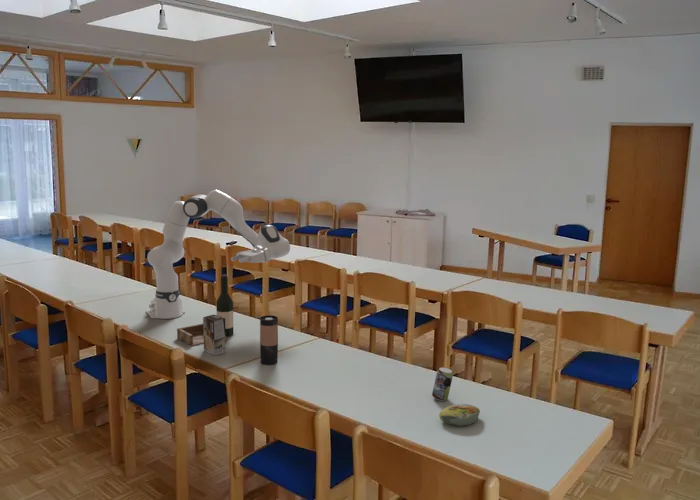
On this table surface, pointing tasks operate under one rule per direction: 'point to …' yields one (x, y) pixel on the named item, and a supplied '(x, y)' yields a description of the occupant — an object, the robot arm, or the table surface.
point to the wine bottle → (225, 306)
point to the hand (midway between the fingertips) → (235, 260)
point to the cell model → (459, 414)
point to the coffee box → (214, 334)
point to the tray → (191, 335)
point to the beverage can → (442, 384)
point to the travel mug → (269, 339)
